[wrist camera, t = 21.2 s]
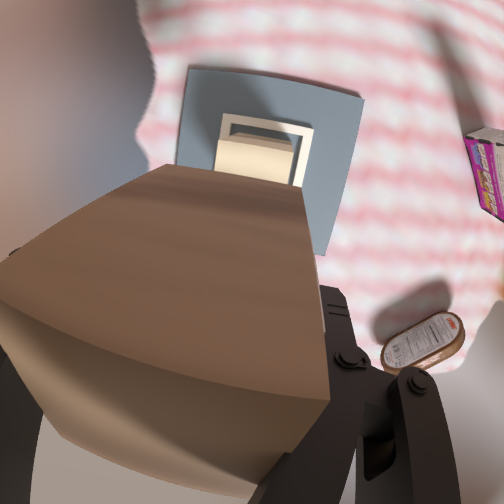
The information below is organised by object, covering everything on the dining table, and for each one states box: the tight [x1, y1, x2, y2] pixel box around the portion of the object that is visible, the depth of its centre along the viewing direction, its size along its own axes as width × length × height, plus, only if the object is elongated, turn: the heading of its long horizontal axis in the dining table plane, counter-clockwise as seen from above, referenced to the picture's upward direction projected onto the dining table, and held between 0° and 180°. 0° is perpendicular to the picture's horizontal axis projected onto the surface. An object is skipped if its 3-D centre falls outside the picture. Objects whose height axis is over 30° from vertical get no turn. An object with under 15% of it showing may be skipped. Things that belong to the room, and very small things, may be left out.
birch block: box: [214, 132, 294, 184], centre depth 27 cm, size 6×6×10 cm
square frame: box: [219, 113, 314, 187], centre depth 31 cm, size 10×10×1 cm
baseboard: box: [177, 69, 365, 256], centre depth 32 cm, size 20×20×1 cm
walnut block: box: [0, 164, 330, 499], centre depth 9 cm, size 6×6×10 cm
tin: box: [380, 312, 465, 376], centre depth 37 cm, size 15×3×8 cm, turn 125°
